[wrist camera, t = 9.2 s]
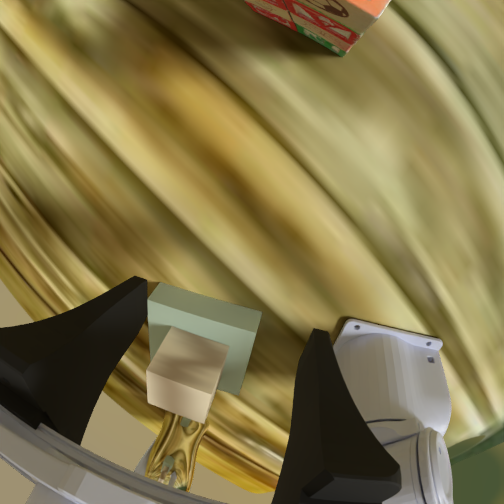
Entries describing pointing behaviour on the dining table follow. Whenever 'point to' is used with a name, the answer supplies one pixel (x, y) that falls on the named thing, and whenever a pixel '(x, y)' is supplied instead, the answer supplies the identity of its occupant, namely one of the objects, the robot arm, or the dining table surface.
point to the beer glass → (173, 452)
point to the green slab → (205, 327)
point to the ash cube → (186, 374)
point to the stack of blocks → (324, 19)
